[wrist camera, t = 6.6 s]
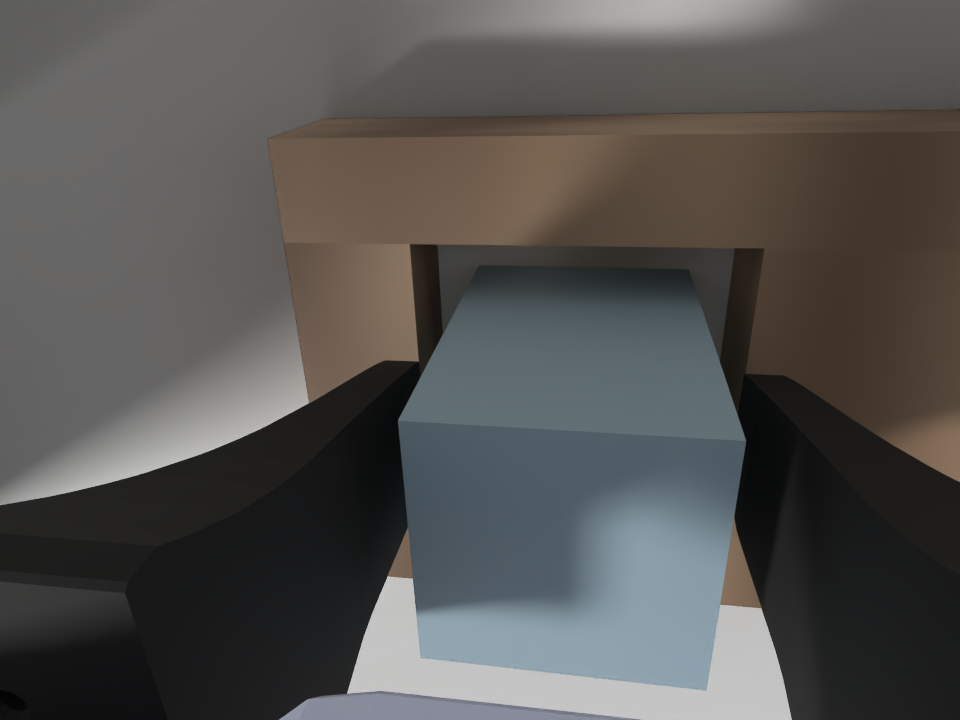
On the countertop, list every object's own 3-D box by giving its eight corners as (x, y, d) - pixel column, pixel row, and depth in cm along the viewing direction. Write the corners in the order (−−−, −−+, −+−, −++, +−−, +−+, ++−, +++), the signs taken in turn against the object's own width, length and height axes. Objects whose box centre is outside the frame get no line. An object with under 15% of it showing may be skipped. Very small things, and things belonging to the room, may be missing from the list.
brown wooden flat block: (1603, 99, 10) (1878, 121, 8) (1308, 565, 14) (1439, 665, 12) (322, 119, 13) (267, 139, 11) (369, 500, 17) (335, 571, 15)
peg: (689, 269, 13) (746, 440, 8) (670, 449, 15) (706, 690, 9) (478, 265, 14) (397, 420, 8) (484, 438, 15) (420, 657, 10)
